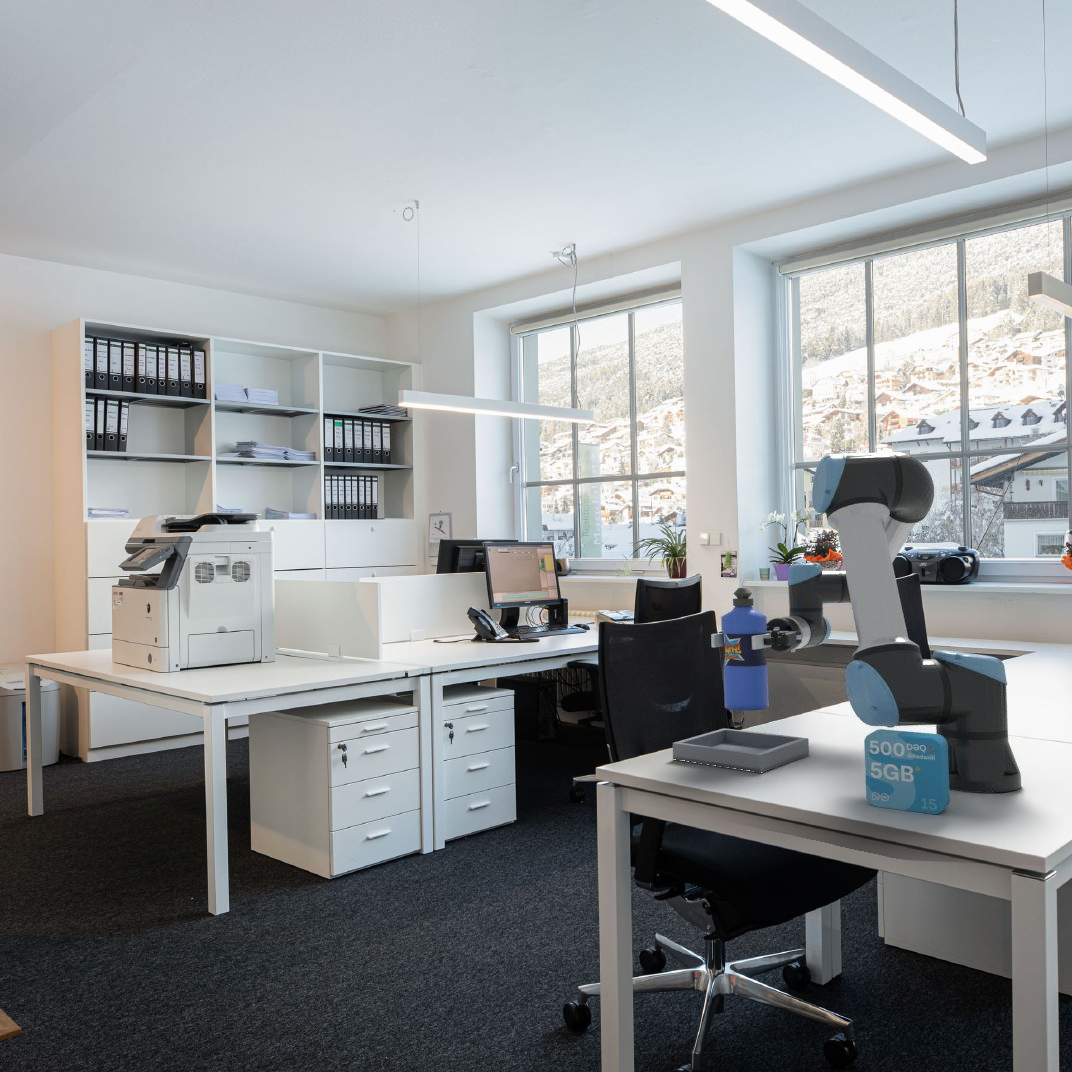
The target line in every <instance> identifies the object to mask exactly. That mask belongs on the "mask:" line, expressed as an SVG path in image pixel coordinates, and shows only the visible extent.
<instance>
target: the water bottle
mask: <svg viewBox="0 0 1072 1072" xmlns="http://www.w3.org/2000/svg"><path fill="white" fill-rule="evenodd" d="M752 594H753V593H752V591H751V590H750V589H749V588H748V587H738V588H737V589H735V591H734V592H733V595H734V596H735V597H736V598H732V606H734V607H733V608H732V610H730V611H729V612H727V613H725V614H723V615H722V616H720V621H721V623H720V625H721V626H720V627H721V631H722V632H723V640H724V646H723V647H724V657H723V658H724V659H723V690H724V691H723V692H724V693H723V694H724V708H725V709H728V710H733V711H761V710H762V711H763V710H767V709H769V707H770V705H769V703H770V701H769V700H770V699H769V676H768V675H769V674H768V664H767V657H766V652H765V649H766V648H762V649H756V650H755V649H752V636H756V635H762V634H766V631H767V623H768V621H767V619H768V618H767V616H766V615H765V614H763V613H761V612H759V611H757V610H756V609H755V608H754V607H753V606H754V598H753V597H751V595H752Z"/></svg>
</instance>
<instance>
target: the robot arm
mask: <svg viewBox="0 0 1072 1072" xmlns="http://www.w3.org/2000/svg"><path fill="white" fill-rule="evenodd" d="M812 480H813V481H812V482H813V483H812V488H811V489H812V490H811V492H812V493H811V497H812V506H813V509H814V510H815V512H816V513H818V514H821V515H824V514H825V515H826V520H827V521H826V522H827V525H828V526H829V527H830V528H832V529H833V530H835V531H837V537H838V541H839V545H840V546H839V547H840V553H841V557H842V562H843V567H844V570H823V568H822V565H821V564H820V563H817V562H815V563H813V562H812V563H793V564H791V565H790V566H789V567H788V573H787V574H788V575H787V576H788V577H787V586H788V588H787V589H788V604H789V605H788V606H789V610H788V611H789V612H788V613H789V616H783V617H776V618H775V617H774V618H772V619H770V620H769V621H767V631H766V634H762V635H756V636H752V649H755V650H756V649H762V648H765V649H766V648H769V649H770V650H772V651H773V652H776V653H777V652H778V653H783V652H789V651H790V652H791V653H795V652H796V650H798V649H806V648H813V647H814V648H815V647H818V646H820V645H822V644H824V643H825V642H826V641H828V640H829V638H830V636H831V632H832V626H831V624H830V622H829V620H828V618H827V617H825V616H824V606H823V605H824V604H849V603H850V604H851V609H852V614H853V619H854V624H855V631H856V635H857V640H858V641H857V642H858V644H859V645H858V647H857V648H856V649H855V651H854V652H853V654H852V662H849V664H847V666H846V669H845V672H844V673H845V675H844V676H845V677H844V678H845V680H846V681H845V690H846V694H847V697H848V702H849V704H850V706H851V708H852V711H853V712H854V714H855V715H856V717H857V718H858V719H859V720H860V721H861V723H863V724H865V725H868V726H870V727H886V728H889V729H890V728H895V727H905V726H906V727H908V726H909V727H910V726H911V727H912V726H935V727H936V728H935V731H936V733H935V734H939V735H941V736H943V737H944V738H945V739H946V741H947V744H948V768H949V790H954V791H962V792H971V793H1004V792H1005V793H1006V792H1007V793H1008V792H1013V791H1015V790H1016V791H1017V790H1019V789H1020V788H1021V787H1022V775H1021V771H1020V767H1019V766H1018V763H1017V761H1016V758H1015V756H1014V753H1013V750H1012V748H1011V745H1010V742H1009V725H1008V723H1009V722H1008V721H1009V720H1008V699H1007V698H1008V696H1007V691H1008V690H1007V686H1008V682H1007V676H1006V667H1005V664H1004V662H1003V661H1002V660H1001V659H999V658H998V657H995V656H990V655H985V654H976V653H972V652H970V653H969V652H962V651H954V650H953V651H952V650H943V649H942V650H939V649H936V650H934V651H933V654H932V658H930V659H929V658H928V659H927V658H923V657H922V653H921V649H920V645H918V644H917V643H915V642H914V641H912V640H910V639H909V636H908V635H909V634H908V631H907V626H906V621H905V617H904V612H903V611H904V610H903V609H902V603H901V598H900V593H899V589H898V588H899V587H898V584H897V580H896V575H895V570H894V569H895V568H894V561H895V560H896V557H897V556H898V554H899V552H900V551H901V549H902V547H903V546H904V544H905V542H906V540H907V539H908V537H909V535H910V534H911V532H912V531H913V528H914V527H915V525H916V524H918V523H920V522H922V521H923V520H924V519H925V518H926V516H927V515H928V514H929V512H930V510H931V507H932V505H933V503H934V499H935V485H934V484H935V483H934V481H933V478H932V475H931V474H930V471H929V470H928V469H927V467H926V466H925V465H924V464H923V462H921V461H920V460H919V459H918V458H916V457H914V456H913V455H909V454H907V453H904V452H897V451H895V452H893V451H890V452H868V453H867V452H866V453H865V452H864V453H863V452H861V453H860V452H859V453H858V452H857V453H846V452H842V453H834V454H826V455H825V456H823V457H822V458H821V459H820V460H819V462H818V464H817V466H816V468H815V472H814V475H813V479H812ZM710 636H711V637H710V639H711V640H710V641H711V642H710V643H711V648H719V647H725V646H724V640H723V632H722V630H721V631H718V633H711V634H710Z"/></svg>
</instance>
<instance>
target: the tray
mask: <svg viewBox="0 0 1072 1072" xmlns="http://www.w3.org/2000/svg"><path fill="white" fill-rule="evenodd" d="M809 741H810V740H809V738H808V737H799V736H792V735H783V734H775V733H774V734H773V733H767V732H757V731H752V730H751V731H748V730H741V729H734V728H733V729H731V728H724V727H723V728H720V729H718V730H713V731H710V732H706V733H703V734H700V735H696V736H692V737H688V738H686V739H682V740H679V741H674V742H672V760H673V759H676V760H685V761H689V762H696V763H702V764H709V765H716V766H721V767H729V768H736V769H743V770H750V771H754V772H760V773H759V774H762V773H761V772H764V773H765V771H766V772H768V771H767V770H769V771H771V770H770V769H772V770H774V769H777V768H779V766H780V767H782V766H785V765H787V764H789V763H792V762H795V761H797V760H800V759H803V758H806V757H808V756H810V749H809V748H810V746H809ZM784 764H785V765H784ZM781 765H782V766H781ZM721 767H720V768H721ZM776 767H777V768H776ZM773 768H774V769H773ZM754 772H753V773H754Z"/></svg>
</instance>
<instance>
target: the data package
mask: <svg viewBox="0 0 1072 1072" xmlns="http://www.w3.org/2000/svg"><path fill="white" fill-rule="evenodd" d="M863 745H864V770H865V771H864V772H865V773H864V774H865V796H866V800H867V802H868V803H869V804H870V805H871V806H873V807H877V808H882V807H883V809H889V808H891V810H898V811H905V812H912V813H921V814H928V815H938V814H941V812H943V811H944V810H945V809H946V808H947V806H948V805H950V800H951V799H950V796H951V795H950V789H949V768H948V744H947V741H946V739H945V738H944V737H943V736H941V735H939V734H936V733H930V732H918V731H908V730H907V731H905V730H897V729H896V730H894V729H883V728H879V729H876V730H874V731H872V732H870V733H869V734H867V735H866V736H865V738H864V741H863Z"/></svg>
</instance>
